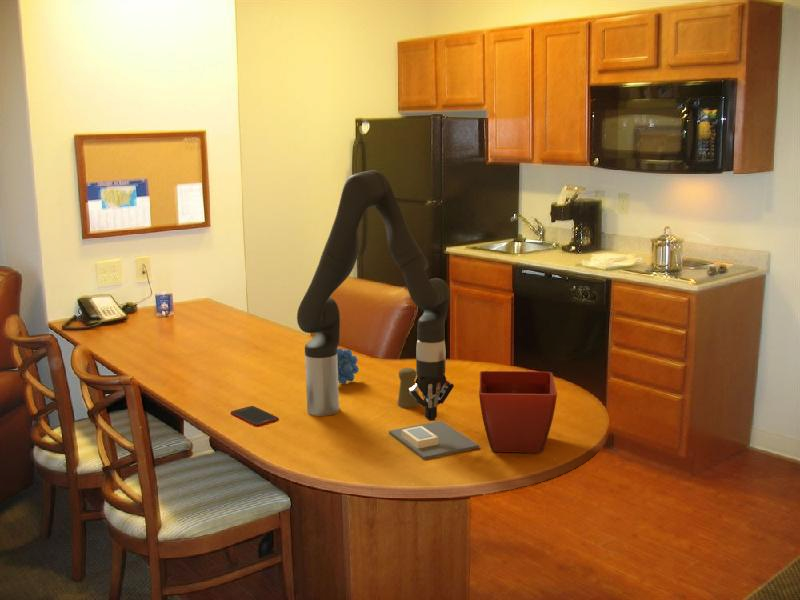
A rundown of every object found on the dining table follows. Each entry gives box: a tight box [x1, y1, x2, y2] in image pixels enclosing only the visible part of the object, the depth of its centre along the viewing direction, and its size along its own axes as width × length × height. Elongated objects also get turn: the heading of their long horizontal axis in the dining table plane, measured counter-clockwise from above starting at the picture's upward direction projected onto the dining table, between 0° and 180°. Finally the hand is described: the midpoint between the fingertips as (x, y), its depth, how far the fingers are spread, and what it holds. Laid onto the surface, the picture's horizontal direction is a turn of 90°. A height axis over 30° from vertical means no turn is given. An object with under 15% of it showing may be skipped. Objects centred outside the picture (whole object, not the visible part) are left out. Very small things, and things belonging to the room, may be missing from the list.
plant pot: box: [478, 370, 558, 454], centre depth 221 cm, size 19×19×17 cm
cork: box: [397, 367, 419, 409], centre depth 252 cm, size 6×6×11 cm
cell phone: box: [230, 405, 280, 427], centre depth 245 cm, size 8×15×1 cm, turn 41°
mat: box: [388, 420, 480, 461], centre depth 225 cm, size 20×16×1 cm
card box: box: [402, 426, 438, 449], centre depth 223 cm, size 9×2×6 cm
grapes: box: [337, 347, 360, 385], centre depth 270 cm, size 12×7×12 cm, turn 127°
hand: (430, 419), depth 224 cm, fingers closed
